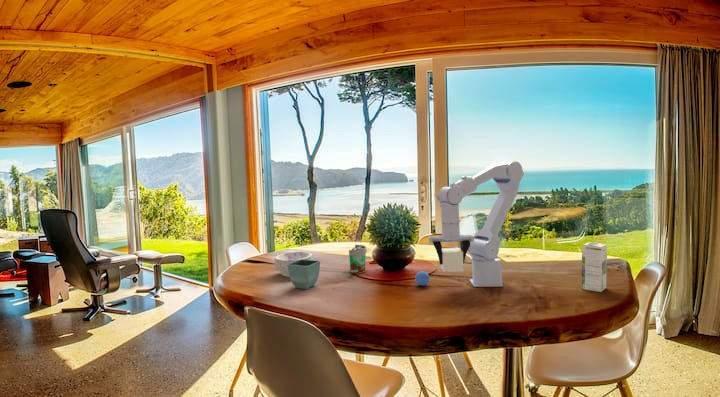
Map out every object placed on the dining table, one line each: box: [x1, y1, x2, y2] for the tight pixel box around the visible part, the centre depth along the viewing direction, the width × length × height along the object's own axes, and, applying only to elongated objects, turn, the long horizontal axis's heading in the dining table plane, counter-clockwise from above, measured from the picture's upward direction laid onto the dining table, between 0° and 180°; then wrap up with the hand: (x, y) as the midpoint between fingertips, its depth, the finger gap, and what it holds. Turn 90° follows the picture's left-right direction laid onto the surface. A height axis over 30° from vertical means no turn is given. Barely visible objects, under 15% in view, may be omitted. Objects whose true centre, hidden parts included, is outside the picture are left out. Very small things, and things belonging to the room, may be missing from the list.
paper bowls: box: [274, 251, 313, 278], centre depth 155 cm, size 15×15×8 cm
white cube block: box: [440, 247, 465, 273], centre depth 125 cm, size 6×6×6 cm
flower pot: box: [288, 259, 321, 290], centre depth 136 cm, size 9×9×9 cm
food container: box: [348, 244, 368, 275], centre depth 155 cm, size 12×6×10 cm, turn 168°
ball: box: [414, 270, 430, 287], centre depth 132 cm, size 5×5×5 cm
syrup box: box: [581, 241, 608, 293], centre depth 120 cm, size 6×6×14 cm
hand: (451, 263), depth 125 cm, fingers closed on white cube block, 6 cm apart
